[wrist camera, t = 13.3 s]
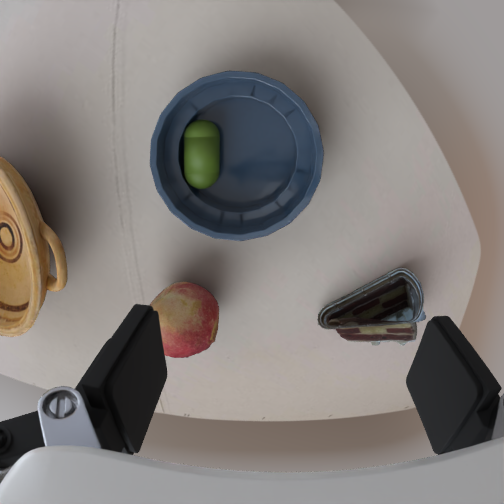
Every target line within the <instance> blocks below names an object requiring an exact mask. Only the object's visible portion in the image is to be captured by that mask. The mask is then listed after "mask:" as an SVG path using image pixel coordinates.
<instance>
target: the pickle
mask: <svg viewBox="0 0 504 504" xmlns="http://www.w3.org/2000/svg"><path fill="white" fill-rule="evenodd" d="M219 165H220V134H219V130H218V128H217V127H216V125H215V124H214V123H212V122H211V121H208V120H203V119H201V120H196V121H194V122H192V123H191V124H190V125H189V126H188V127H187V128H186V130H185V133H184V174H185V178H186V180H187V182H188V183H189V184H190V185H191V186H193V187H195V188H198V189H205V188H209V187H211V186H212V185H213V184H214V183H215V182H216V181H217V179H218V177H219Z"/></svg>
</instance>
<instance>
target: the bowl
mask: <svg viewBox="0 0 504 504" xmlns="http://www.w3.org/2000/svg"><path fill="white" fill-rule="evenodd" d="M201 119H203V120H208V121H211V122H212V123H214V124H215V125H216V127H217V128H218V130H219V134H220V165H219V177H218V179H217V181H216V182H215V183H214V184H213V185H212V186H211V187H209V188H205V189H198V188H195V187H193V186H191V185H190V184H189V183H188V182H187V180H186V178H185V174H184V133H185V130H186V128H187V127H188V126H189V125H190V124H191V123H192V122H194V121H196V120H201ZM323 156H324V150H323V145H322V140H321V135H320V131H319V126H318V124H317V122H316V120H315V119H314V117H313V115H312V114H311V112H310V110H309V109H308V107H307V105H306V104H305V102H304V101H303V100H302V99H301V98H300V97H299V96H297V95H296V94H295V93H294V92H293V91H292V90H290V89H289V88H288V87H287V86H286V85H285V84H283V83H281V82H279V81H277V80H274V79H272V78H269V77H267V76H264V75H262V74H259V73H256V72H243V71H225V72H221V73H217V74H213V75H210V76H206V77H202V78H200V79H198V80H197V81H195V82H194V83H192V84H190V85H189V86H187V87H186V88H184V89H183V90H181V91H180V92H178V93H177V94H176V96H175V97H174V98H173V99H172V100H171V102H170V103H169V104H168V105H167V107H166V108H165V109H164V110H163V112H162V113H161V115H160V117H159V119H158V122H157V125H156V127H155V130H154V133H153V135H152V138H151V150H150V167H151V171H152V175H153V179H154V182H155V186H156V189H157V191H158V193H159V195H160V196H161V198H162V199H163V201H164V202H165V204H166V205H167V207H168V208H169V210H170V211H171V213H173V214H174V215H175V216H176V217H177V218H179V219H180V220H181V221H182V222H184V223H185V224H186V225H187V226H188V227H190V228H191V229H193V230H195V231H198V232H200V233H203V234H205V235H207V236H210V237H212V238H215V239H225V240H235V241H244V240H249V239H254V238H259V237H264V236H267V235H269V234H271V233H273V232H275V231H277V230H279V229H280V228H282V227H284V226H286V225H288V224H290V223H291V222H292V221H293V220H294V219H295V218H296V217H297V216H298V215H299V214H300V212H301V211H302V210H303V209H304V208H305V207H306V206H307V205H308V204H309V202H310V200H311V198H312V196H313V194H314V192H315V190H316V188H317V186H318V184H319V182H320V179H321V172H322V164H323Z"/></svg>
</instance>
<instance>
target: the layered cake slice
mask: <svg viewBox="0 0 504 504" xmlns="http://www.w3.org/2000/svg"><path fill="white" fill-rule="evenodd" d="M423 303H424V294H423V291H422V287H421V283H420V282H419V280H417V278H416V276H415V275H414V274H413V272H411V271H409V270H408V269H405V268H401V269H400V268H399V269H396V270H394V271H392V272H388V274H387V275H385V276H382V277H380V278H378V279H377V280H375V281H373V282H372V283H370V284H368V285H365V286H363V287H362V288H360V289H357V290H356V291H354V292H353V293H351V294H349V295H348V296H346V297H342V298H341V299H339V300H337V301H334V302H332V303H330V304H327V305H326V307H324V308H322V310H320V312H319V314H318V319H317V320H318V325H320V326H321V327H322V328H325V329H336V331H337V332H338V333H339V334H340V336H341V337H342V338H344V339H346V340H348V341H354V342H371V344H372V345H379V344H380V341H382V342H390V341H394V342H397V343H399V344H400V345H405V344H406V343H407V342H414V341H415V340H416V335H417V326H416V322H419V321H423V320H425V318H426V315H425V312H424V311H423Z"/></svg>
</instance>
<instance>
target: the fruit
mask: <svg viewBox="0 0 504 504" xmlns="http://www.w3.org/2000/svg"><path fill="white" fill-rule="evenodd" d="M150 306H152V307H153V309H154V310H155V311H158V314H159V321H160V328H161V335H162V342H163V348H164V354H165V355H166V356H170V357H174V358H184V357H186V358H187V357H189V356H192V355H194V354H196V353H200V352H202V351H203V350H206V349H208V348H209V347H210V345H211V344H212V343H213V342H214V341H215V338H216V334H217V330H218V321H219V306H218V303H217V301H216V300H215V298H214V296H213V295H212V294H211V293H210V292H209V291H207V290H206V289H205V288H203V287H201V286H199V285H196V284H193V283H189V282H177V283H173V284H171V285H170V286H169V287H167V288H165V289H164V290H163V291H162V292H161V293H160V294H159V295H158V296H157V297H156V298H155V299H154V300H153V301H152V303H151V304H150Z"/></svg>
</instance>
